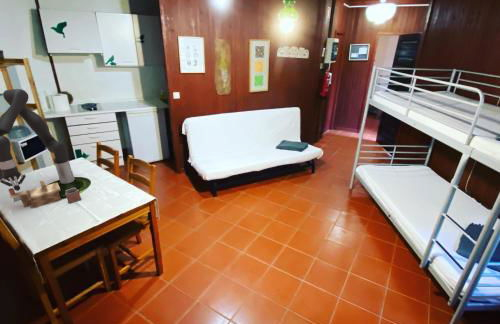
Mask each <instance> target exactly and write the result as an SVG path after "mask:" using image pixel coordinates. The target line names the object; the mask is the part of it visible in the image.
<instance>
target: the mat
mask: <svg viewBox="0 0 500 324" xmlns="http://www.w3.org/2000/svg"><path fill="white" fill-rule="evenodd" d="M29 190H30V189H28V190H25V191H26V192H27V193H28V192H29ZM12 199H13V202H18V201H21V198H20V196H19V197H15V198H12Z"/></svg>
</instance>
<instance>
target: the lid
mask: <svg viewBox="0 0 500 324" xmlns="http://www.w3.org/2000/svg"><path fill="white" fill-rule="evenodd" d="M39 183H40V184H39V185H40V186H38V187H36V188H35V187H34V188H31V189H28V190H29V191H30V195H31V198H32V199H33V198H36V197H40V196H43V195H47V194H51V193H54V192H61V188H60V186H59V183H58V182H53V183H49V184H46V183H45V180H40V181H39Z"/></svg>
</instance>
